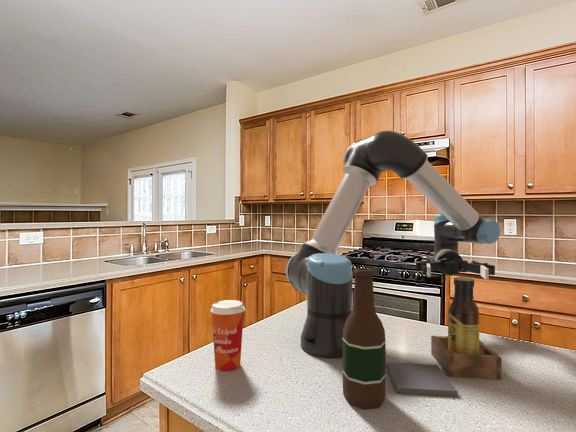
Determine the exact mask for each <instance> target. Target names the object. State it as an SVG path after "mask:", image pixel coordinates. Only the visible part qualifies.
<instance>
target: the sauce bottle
mask: <svg viewBox="0 0 576 432" xmlns="http://www.w3.org/2000/svg"><path fill="white" fill-rule="evenodd" d="M453 285H454V295H453V297H452V298H453V299H452V300H451V302H450V305H449V309H448V312H447V313H448V316H447V322H448V324H447V336H448V350H449V351H450V352H451V353H453V354H475V355H479V340H480V310H479V307H478V305H477V304H476V302H475V301H474V298H475V297H474V287H475V280H474V278H472V277H466V276H456V277H454V278H453Z"/></svg>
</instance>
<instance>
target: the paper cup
mask: <svg viewBox="0 0 576 432" xmlns="http://www.w3.org/2000/svg"><path fill="white" fill-rule="evenodd" d="M245 311H246V308H245V306H244V304H243V302H242V301H241V300H235V299H234V300H233V299H226V300H219V301H217V302H214V303H212V305H211V308H210V313H211V318H212V319H211V321H212V322H211V323H212V336H213V337H212V338H213V352H214V353H213V355H214V367H215V369H216V370H217V371H221V372H232V371H236V370H237V369H239V368H240V366H241V361H242V359H241V358H242V343H243V326H244V325H243V324H244V312H245Z"/></svg>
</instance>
